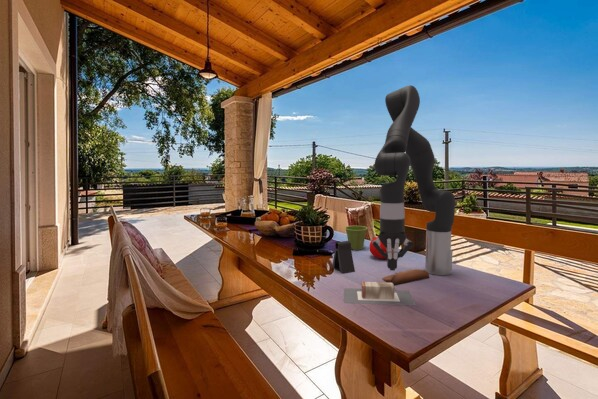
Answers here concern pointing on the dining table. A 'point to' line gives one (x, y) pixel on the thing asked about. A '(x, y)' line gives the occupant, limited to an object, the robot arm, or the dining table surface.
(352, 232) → the plant pot
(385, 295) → the ash block
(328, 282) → the dining table surface
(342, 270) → the phone stand
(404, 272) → the sunglasses case
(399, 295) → the rubber mat
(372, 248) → the tomato
